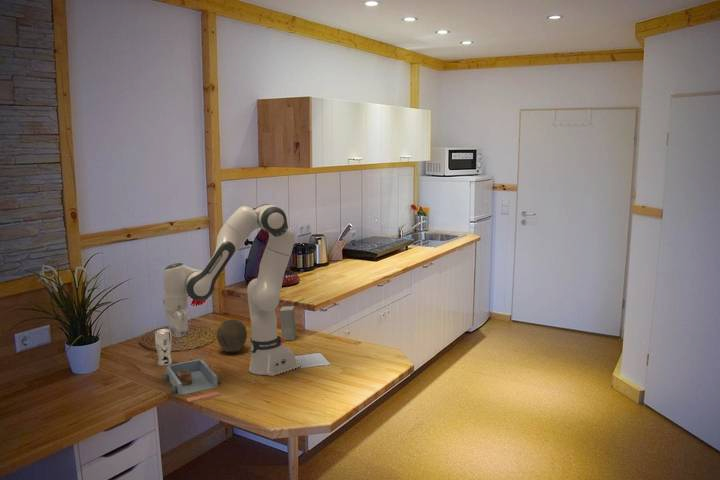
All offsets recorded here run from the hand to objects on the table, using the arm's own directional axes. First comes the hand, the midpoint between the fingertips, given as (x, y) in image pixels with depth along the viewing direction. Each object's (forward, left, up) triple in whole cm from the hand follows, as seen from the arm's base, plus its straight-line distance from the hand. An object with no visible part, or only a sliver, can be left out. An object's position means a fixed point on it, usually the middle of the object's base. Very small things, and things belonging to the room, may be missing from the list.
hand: (177, 336), depth 234 cm
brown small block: (0, +6, -18) cm, 19 cm away
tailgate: (-3, +17, -19) cm, 26 cm away
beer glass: (+1, -24, -20) cm, 31 cm away
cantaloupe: (-30, -23, -20) cm, 43 cm away
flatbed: (-3, +6, -19) cm, 20 cm away
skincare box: (-60, -26, -20) cm, 68 cm away
